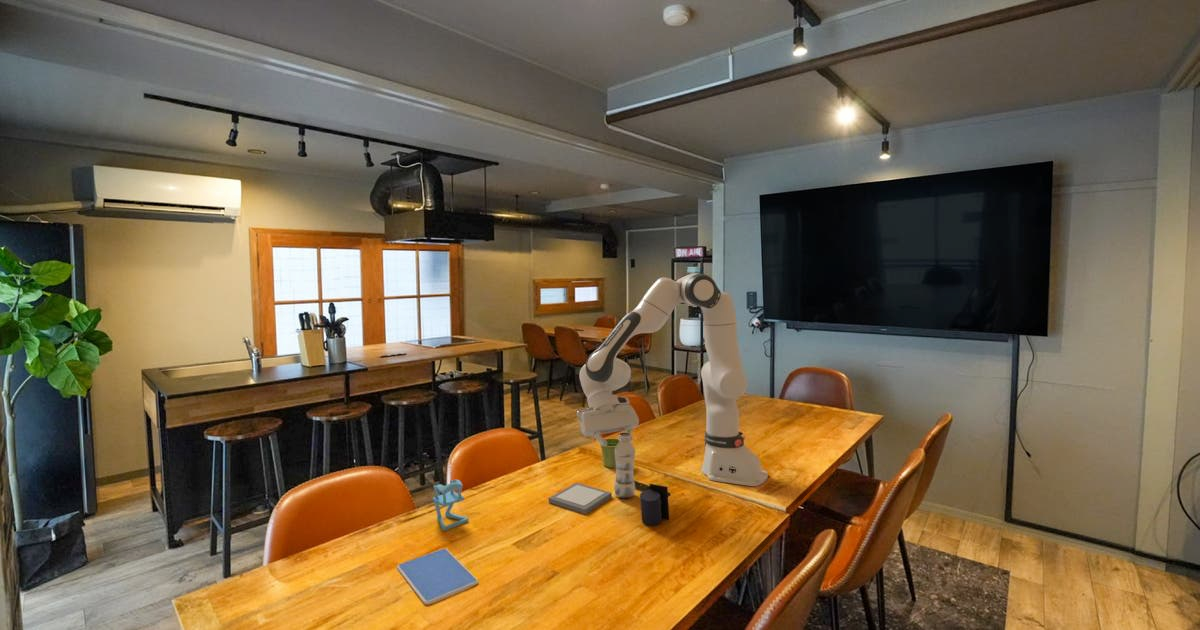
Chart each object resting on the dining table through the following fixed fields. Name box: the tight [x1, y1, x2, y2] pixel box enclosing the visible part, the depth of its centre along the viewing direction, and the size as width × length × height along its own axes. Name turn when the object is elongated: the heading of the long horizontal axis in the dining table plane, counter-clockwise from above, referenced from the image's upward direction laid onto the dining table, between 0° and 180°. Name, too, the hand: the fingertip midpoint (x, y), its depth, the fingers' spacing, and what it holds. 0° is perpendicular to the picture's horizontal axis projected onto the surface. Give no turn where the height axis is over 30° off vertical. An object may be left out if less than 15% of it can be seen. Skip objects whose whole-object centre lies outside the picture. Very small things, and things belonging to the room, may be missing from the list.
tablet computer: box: [396, 548, 479, 606], centre depth 120 cm, size 19×13×1 cm, turn 39°
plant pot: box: [598, 437, 619, 469], centre depth 189 cm, size 9×9×9 cm
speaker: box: [639, 483, 670, 527], centre depth 145 cm, size 8×6×10 cm
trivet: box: [548, 482, 613, 515], centre depth 160 cm, size 14×14×2 cm
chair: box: [432, 479, 469, 531], centre depth 146 cm, size 8×8×12 cm
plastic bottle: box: [613, 432, 636, 499], centre depth 162 cm, size 6×7×20 cm
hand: (617, 442), depth 165 cm, fingers open, 8 cm apart
